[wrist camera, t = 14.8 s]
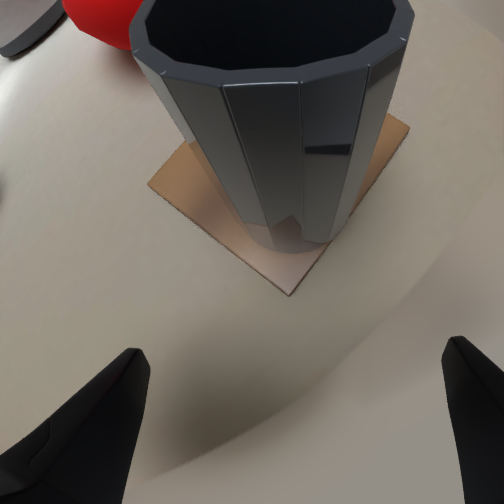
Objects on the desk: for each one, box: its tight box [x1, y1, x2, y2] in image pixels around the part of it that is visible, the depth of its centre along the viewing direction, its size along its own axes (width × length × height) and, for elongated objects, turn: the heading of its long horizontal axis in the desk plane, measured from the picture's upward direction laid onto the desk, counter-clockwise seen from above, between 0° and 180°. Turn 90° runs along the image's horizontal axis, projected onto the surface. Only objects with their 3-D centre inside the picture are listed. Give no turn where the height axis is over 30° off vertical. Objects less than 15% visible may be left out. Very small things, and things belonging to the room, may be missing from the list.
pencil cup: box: [129, 0, 415, 253], centre depth 12 cm, size 7×7×12 cm
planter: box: [0, 0, 65, 57], centre depth 25 cm, size 13×13×10 cm
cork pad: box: [147, 113, 410, 296], centre depth 19 cm, size 11×13×1 cm
